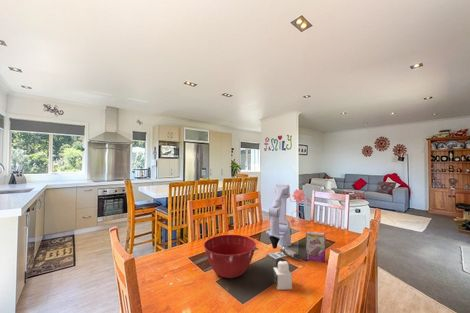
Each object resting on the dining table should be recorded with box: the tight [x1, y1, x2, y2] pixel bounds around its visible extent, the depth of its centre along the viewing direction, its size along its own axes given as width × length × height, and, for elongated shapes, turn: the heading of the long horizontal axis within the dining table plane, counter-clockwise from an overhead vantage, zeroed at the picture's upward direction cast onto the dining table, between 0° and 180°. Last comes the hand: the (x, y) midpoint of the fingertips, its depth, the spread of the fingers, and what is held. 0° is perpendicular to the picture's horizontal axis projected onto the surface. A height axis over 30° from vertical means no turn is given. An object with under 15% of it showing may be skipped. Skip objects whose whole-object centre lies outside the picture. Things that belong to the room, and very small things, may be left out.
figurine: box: [287, 188, 312, 227], centre depth 204 cm, size 15×26×35 cm, turn 51°
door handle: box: [281, 246, 300, 260], centre depth 132 cm, size 14×4×3 cm, turn 25°
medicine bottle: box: [272, 258, 293, 291], centre depth 101 cm, size 7×7×12 cm
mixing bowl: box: [203, 234, 257, 279], centre depth 114 cm, size 28×28×16 cm
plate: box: [266, 251, 289, 261], centre depth 133 cm, size 10×9×1 cm
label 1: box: [268, 252, 281, 259], centre depth 132 cm, size 4×7×1 cm, turn 30°
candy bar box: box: [305, 231, 326, 263], centre depth 129 cm, size 11×5×16 cm, turn 71°
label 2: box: [273, 251, 287, 259], centre depth 135 cm, size 4×7×1 cm, turn 30°
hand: (274, 248), depth 132 cm, fingers closed
